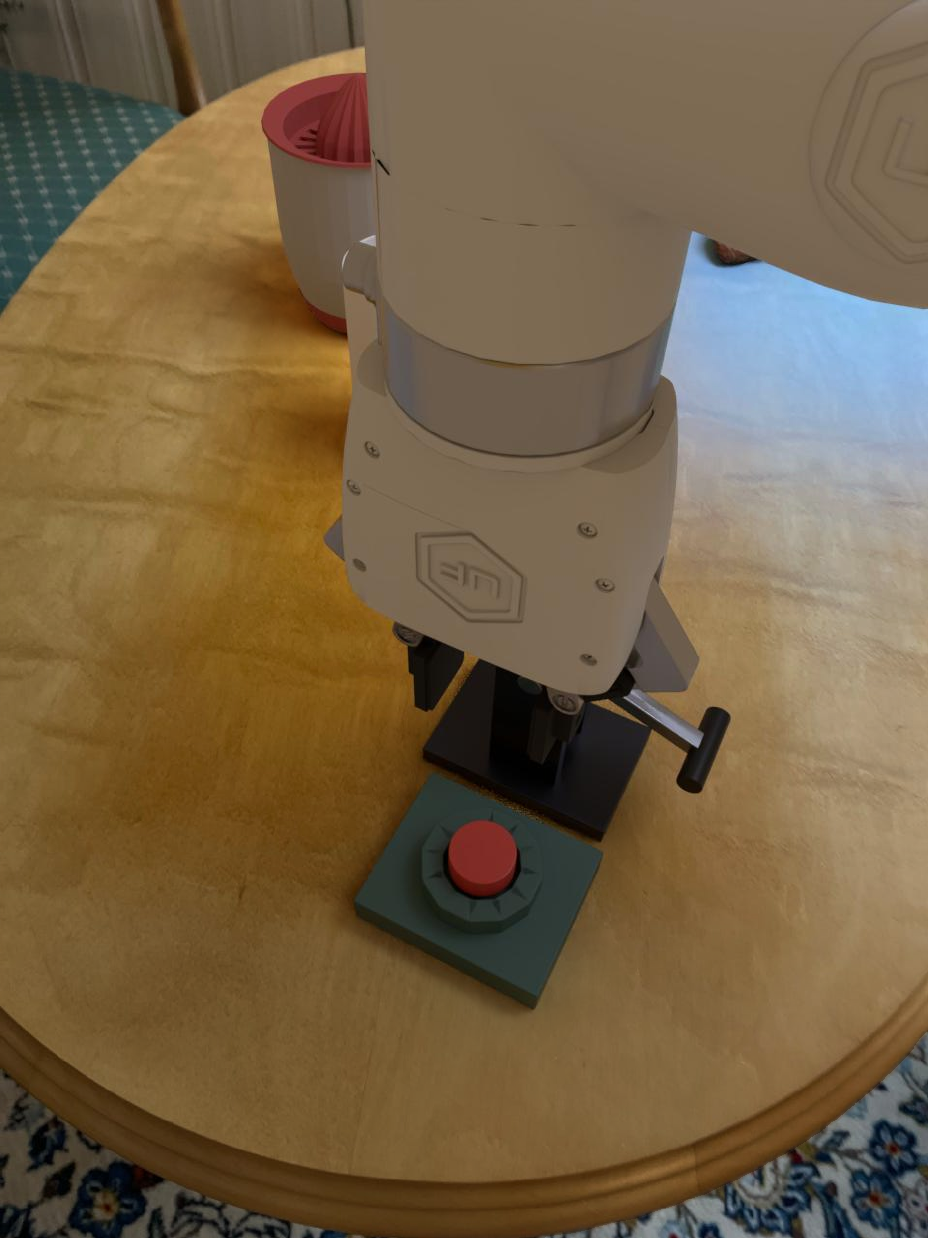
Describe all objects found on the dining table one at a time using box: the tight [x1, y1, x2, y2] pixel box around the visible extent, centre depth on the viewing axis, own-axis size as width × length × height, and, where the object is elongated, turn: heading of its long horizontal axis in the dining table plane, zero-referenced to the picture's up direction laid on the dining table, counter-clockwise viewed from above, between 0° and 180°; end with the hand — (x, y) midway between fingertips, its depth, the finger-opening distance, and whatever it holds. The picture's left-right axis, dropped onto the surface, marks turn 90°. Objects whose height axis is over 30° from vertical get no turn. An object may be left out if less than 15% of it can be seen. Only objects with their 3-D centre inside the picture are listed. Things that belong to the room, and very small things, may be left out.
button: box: [448, 820, 517, 897], centre depth 52 cm, size 4×4×2 cm
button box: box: [353, 771, 604, 1010], centre depth 54 cm, size 11×9×4 cm
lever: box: [608, 690, 732, 795], centre depth 53 cm, size 12×5×2 cm, turn 63°
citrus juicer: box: [260, 72, 375, 334], centre depth 83 cm, size 16×17×20 cm
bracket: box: [422, 658, 652, 843], centre depth 56 cm, size 12×8×13 cm, turn 63°
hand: (494, 706), depth 40 cm, fingers open, 4 cm apart
